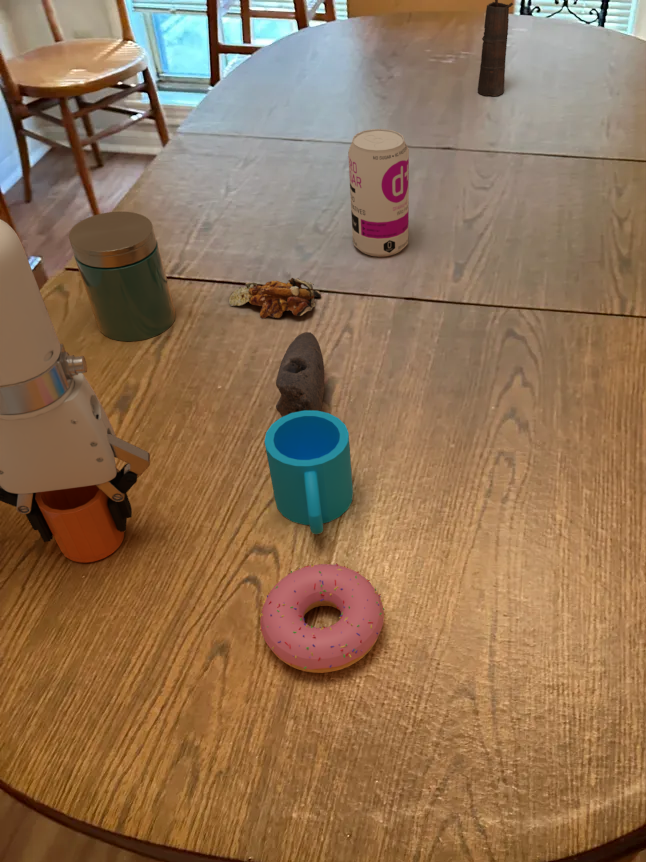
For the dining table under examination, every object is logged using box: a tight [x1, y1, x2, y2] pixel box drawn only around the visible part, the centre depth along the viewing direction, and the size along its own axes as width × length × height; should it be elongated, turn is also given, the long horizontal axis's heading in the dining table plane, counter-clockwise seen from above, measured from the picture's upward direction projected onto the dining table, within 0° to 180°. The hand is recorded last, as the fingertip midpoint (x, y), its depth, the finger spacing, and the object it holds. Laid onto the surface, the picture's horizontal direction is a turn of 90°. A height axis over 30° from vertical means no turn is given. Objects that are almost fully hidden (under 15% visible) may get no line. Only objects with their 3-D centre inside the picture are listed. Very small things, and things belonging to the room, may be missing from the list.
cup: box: [35, 485, 125, 564], centre depth 75 cm, size 6×6×7 cm
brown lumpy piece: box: [228, 277, 322, 319], centre depth 105 cm, size 7×12×4 cm, turn 82°
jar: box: [73, 239, 176, 342], centre depth 99 cm, size 10×10×12 cm
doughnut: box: [259, 562, 385, 674], centre depth 69 cm, size 11×11×4 cm
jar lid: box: [68, 211, 157, 268], centre depth 95 cm, size 10×10×2 cm
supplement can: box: [347, 128, 410, 258], centre depth 111 cm, size 8×8×15 cm
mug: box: [264, 410, 354, 535], centre depth 78 cm, size 12×8×8 cm
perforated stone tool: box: [275, 331, 325, 417], centre depth 90 cm, size 15×5×7 cm, turn 178°
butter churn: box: [477, 0, 514, 97], centre depth 146 cm, size 9×10×28 cm
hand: (86, 524), depth 76 cm, fingers closed on cup, 6 cm apart
